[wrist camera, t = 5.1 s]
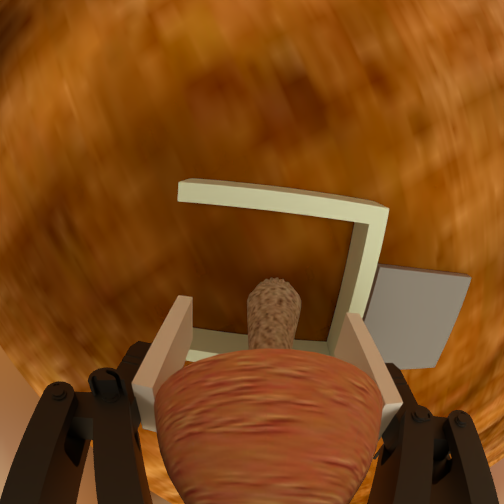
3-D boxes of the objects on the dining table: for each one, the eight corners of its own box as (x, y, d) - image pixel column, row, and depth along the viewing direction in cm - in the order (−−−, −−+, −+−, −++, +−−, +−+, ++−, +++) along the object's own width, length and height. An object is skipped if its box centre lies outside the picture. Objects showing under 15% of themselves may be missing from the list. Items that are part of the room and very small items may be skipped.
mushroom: (210, 350, 19) (161, 562, 5) (195, 239, 17) (40, 485, 3) (326, 346, 19) (374, 559, 5) (333, 234, 16) (492, 478, 2)
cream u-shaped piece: (186, 337, 24) (177, 358, 21) (190, 178, 20) (178, 182, 17) (336, 353, 24) (342, 375, 21) (373, 201, 20) (389, 208, 17)
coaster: (345, 364, 24) (347, 370, 24) (376, 263, 21) (379, 267, 20) (431, 362, 24) (434, 367, 24) (467, 274, 21) (471, 277, 20)
